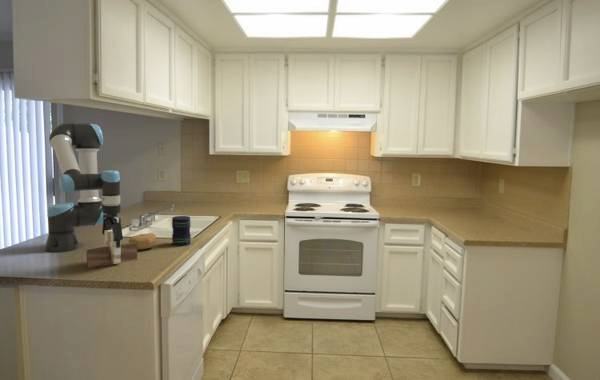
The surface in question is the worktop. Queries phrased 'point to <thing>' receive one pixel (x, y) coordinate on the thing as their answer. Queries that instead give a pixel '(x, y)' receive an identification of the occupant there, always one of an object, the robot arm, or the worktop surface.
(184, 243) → the storage jar
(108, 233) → the birch plate
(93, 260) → the walnut board
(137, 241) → the potato
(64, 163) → the robot arm
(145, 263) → the worktop surface
